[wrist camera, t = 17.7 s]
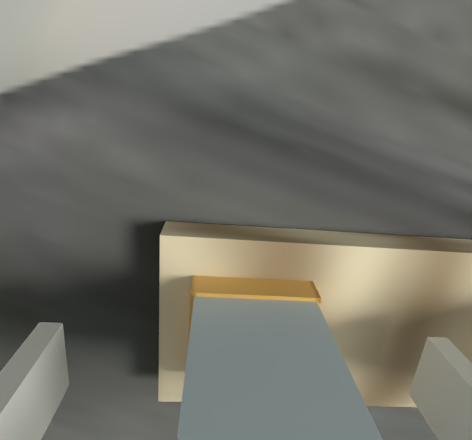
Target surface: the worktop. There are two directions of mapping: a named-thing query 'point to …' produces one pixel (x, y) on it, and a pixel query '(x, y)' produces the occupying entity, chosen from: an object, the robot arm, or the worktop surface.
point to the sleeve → (266, 366)
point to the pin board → (329, 294)
